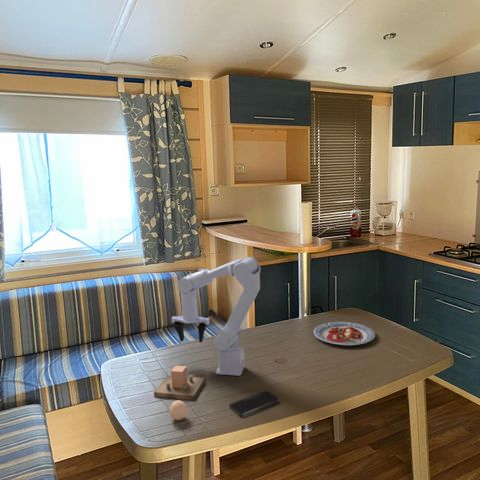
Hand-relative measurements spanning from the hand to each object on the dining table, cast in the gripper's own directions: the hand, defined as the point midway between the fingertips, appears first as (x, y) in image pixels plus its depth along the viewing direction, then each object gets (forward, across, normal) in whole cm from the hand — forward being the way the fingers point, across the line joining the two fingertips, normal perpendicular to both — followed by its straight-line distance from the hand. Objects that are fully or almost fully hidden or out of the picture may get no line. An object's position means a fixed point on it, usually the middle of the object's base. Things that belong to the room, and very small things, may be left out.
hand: (191, 340), depth 166 cm
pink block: (+8, +2, -19) cm, 21 cm away
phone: (+10, +29, -24) cm, 39 cm away
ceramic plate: (+10, +57, +35) cm, 68 cm away
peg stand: (+9, +2, -19) cm, 21 cm away
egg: (+10, +8, -36) cm, 38 cm away
